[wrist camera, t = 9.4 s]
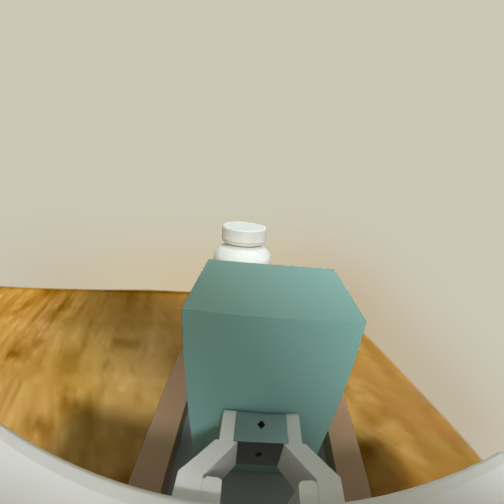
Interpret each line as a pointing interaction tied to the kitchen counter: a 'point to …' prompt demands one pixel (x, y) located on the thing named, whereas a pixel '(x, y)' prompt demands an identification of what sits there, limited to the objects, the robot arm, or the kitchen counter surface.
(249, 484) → the chute
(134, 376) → the kitchen counter surface
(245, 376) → the block
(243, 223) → the supplement bottle
